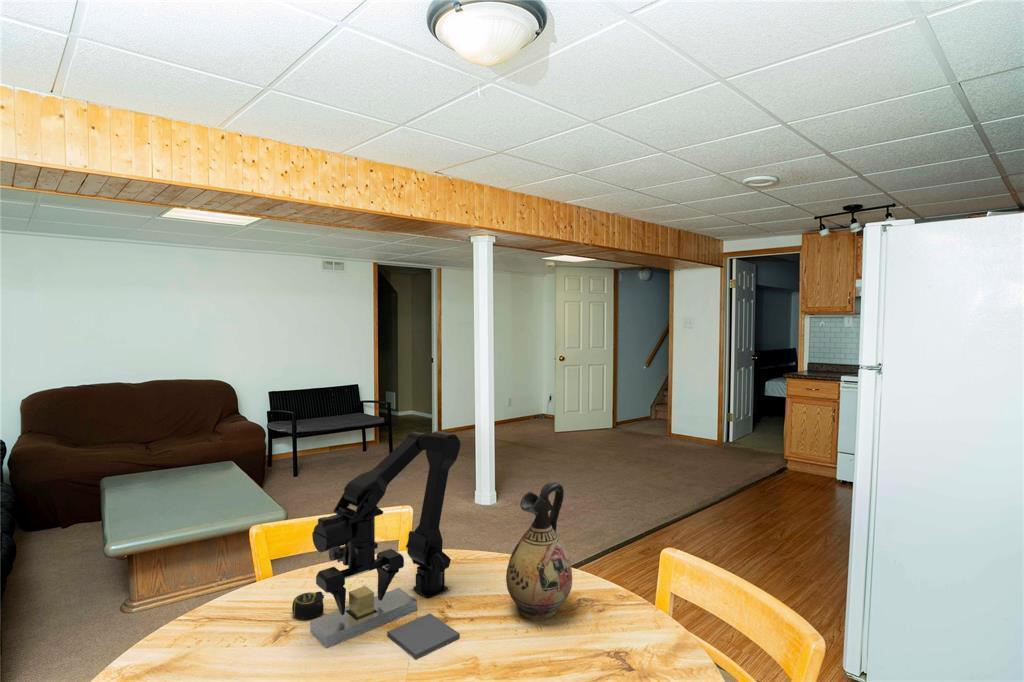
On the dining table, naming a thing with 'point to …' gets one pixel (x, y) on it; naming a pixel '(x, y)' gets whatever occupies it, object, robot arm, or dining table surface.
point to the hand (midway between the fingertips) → (361, 606)
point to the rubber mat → (423, 635)
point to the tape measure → (308, 605)
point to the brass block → (361, 602)
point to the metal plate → (345, 626)
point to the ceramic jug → (540, 559)
